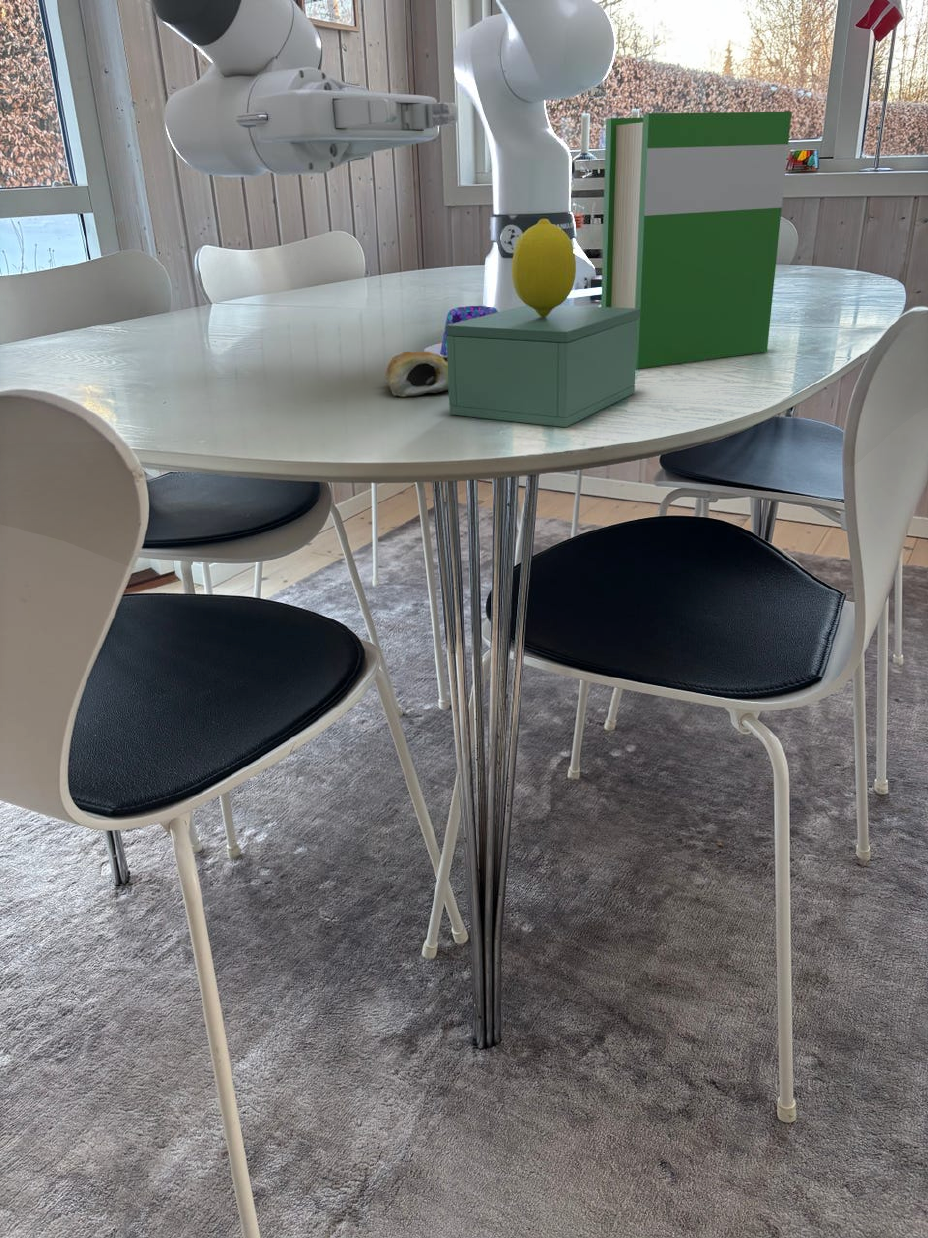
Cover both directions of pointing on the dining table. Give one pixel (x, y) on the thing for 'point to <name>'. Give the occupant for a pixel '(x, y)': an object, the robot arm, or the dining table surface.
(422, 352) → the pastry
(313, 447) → the dining table surface
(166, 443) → the dining table surface
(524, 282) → the lemon
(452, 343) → the box
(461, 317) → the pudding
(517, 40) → the robot arm
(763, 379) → the dining table surface
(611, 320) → the sage green box lid
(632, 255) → the hardback book
